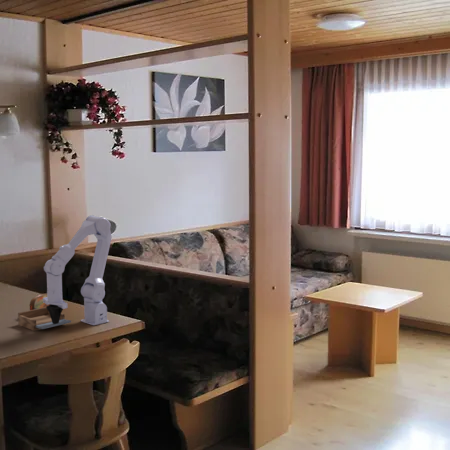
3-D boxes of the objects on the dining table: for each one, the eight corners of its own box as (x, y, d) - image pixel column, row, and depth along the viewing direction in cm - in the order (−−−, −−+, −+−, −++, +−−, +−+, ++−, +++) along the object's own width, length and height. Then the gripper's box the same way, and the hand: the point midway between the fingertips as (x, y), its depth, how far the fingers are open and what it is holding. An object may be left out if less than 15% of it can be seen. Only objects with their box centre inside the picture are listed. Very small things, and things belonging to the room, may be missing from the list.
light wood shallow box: (64, 323, 257) (64, 311, 256) (34, 330, 247) (33, 318, 246) (48, 318, 265) (48, 306, 264) (18, 324, 255) (18, 312, 254)
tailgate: (63, 321, 256) (71, 322, 253) (35, 327, 247) (42, 329, 243) (63, 319, 256) (70, 320, 253) (35, 325, 247) (42, 327, 243)
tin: (35, 319, 263) (34, 299, 262) (28, 318, 264) (27, 299, 263) (52, 310, 278) (51, 291, 277) (45, 309, 279) (45, 291, 277)
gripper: (35, 288, 249) (36, 321, 250) (56, 294, 239) (57, 328, 241) (51, 285, 254) (52, 318, 255) (71, 291, 244) (72, 325, 246)
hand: (55, 323), depth 248 cm, fingers closed
